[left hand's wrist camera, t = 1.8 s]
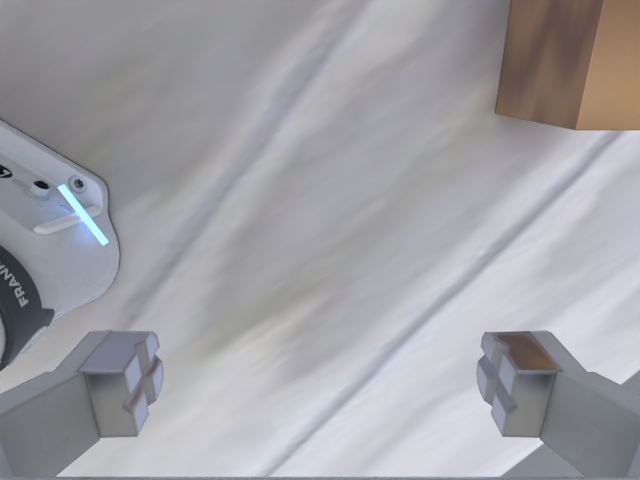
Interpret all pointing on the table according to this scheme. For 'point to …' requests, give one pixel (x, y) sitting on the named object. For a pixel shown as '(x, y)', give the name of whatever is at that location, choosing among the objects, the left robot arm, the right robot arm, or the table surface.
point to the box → (572, 64)
